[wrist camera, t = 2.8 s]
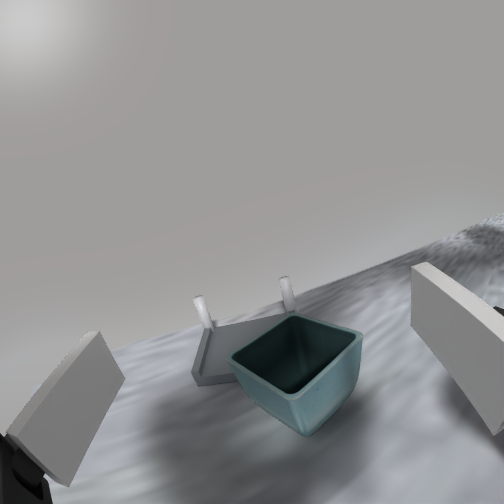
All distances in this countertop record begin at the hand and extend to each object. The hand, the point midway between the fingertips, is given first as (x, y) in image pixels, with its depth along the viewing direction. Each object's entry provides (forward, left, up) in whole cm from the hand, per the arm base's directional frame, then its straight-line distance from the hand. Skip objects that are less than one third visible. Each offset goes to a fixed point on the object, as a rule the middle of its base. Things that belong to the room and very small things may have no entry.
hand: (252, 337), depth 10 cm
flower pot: (-1, -10, -18) cm, 21 cm away
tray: (+5, -23, -17) cm, 30 cm away
